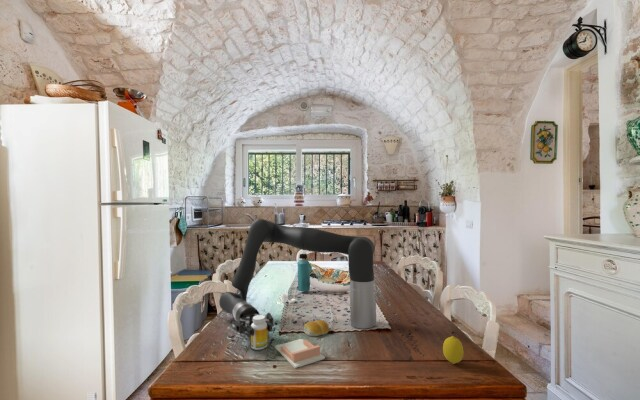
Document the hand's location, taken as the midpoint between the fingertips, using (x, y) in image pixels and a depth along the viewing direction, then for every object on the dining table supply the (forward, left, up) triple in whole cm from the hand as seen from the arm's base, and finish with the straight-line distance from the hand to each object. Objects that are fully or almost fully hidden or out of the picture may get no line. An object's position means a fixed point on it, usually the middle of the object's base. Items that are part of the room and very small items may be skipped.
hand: (261, 330), depth 101 cm
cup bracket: (-12, +4, -6) cm, 14 cm away
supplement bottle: (+1, -2, -6) cm, 7 cm away
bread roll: (-19, -12, -7) cm, 23 cm away
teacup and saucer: (-8, -44, -7) cm, 45 cm away
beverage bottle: (-17, -61, -6) cm, 64 cm away
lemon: (-56, +16, -7) cm, 58 cm away
